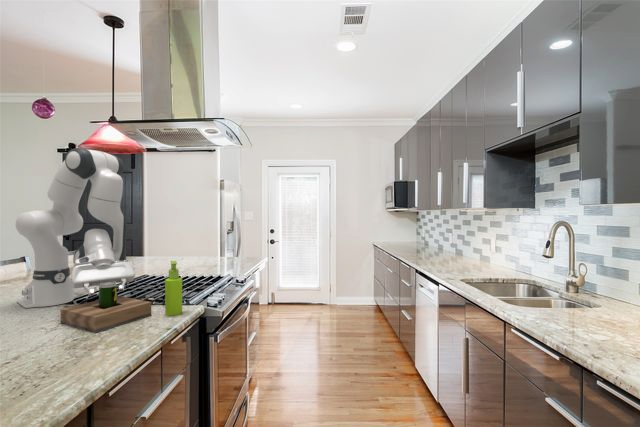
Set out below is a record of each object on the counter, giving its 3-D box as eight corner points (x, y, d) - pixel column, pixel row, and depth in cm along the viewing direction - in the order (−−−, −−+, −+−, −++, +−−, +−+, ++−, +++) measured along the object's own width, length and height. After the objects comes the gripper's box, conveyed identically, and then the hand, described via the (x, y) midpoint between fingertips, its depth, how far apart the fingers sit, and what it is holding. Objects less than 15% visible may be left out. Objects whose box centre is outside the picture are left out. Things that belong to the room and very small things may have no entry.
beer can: (99, 320, 117) (99, 285, 117) (99, 316, 122) (99, 282, 121) (117, 317, 120) (117, 283, 120) (116, 313, 124) (116, 281, 124)
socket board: (60, 323, 117) (60, 309, 116) (117, 308, 134) (117, 295, 134) (95, 333, 108) (95, 317, 108) (151, 315, 125) (151, 302, 125)
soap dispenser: (165, 317, 123) (165, 262, 123) (164, 312, 129) (164, 260, 129) (183, 315, 126) (183, 261, 125) (181, 310, 132) (181, 259, 131)
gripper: (130, 264, 139) (137, 292, 132) (68, 270, 125) (72, 302, 118) (133, 254, 135) (140, 283, 128) (69, 260, 122) (73, 292, 115)
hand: (107, 292), depth 123 cm, fingers open, 8 cm apart
